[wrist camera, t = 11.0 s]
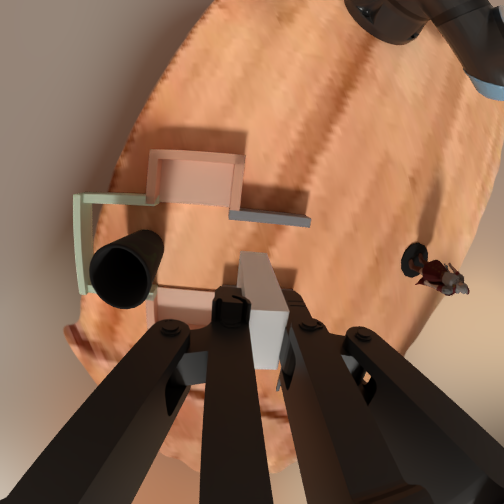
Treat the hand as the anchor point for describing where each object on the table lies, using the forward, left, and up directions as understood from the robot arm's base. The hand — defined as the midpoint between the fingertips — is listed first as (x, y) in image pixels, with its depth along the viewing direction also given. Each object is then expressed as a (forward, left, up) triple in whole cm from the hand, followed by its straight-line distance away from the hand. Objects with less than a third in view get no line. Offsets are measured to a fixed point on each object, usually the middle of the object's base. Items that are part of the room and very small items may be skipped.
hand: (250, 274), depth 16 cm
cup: (+13, +6, -24) cm, 28 cm away
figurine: (-33, +5, -24) cm, 41 cm away
